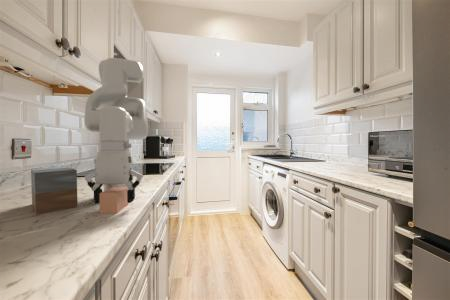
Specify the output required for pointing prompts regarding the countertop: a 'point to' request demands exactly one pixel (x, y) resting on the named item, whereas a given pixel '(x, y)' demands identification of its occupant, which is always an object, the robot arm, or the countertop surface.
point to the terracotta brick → (113, 200)
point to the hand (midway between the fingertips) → (114, 202)
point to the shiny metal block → (53, 189)
